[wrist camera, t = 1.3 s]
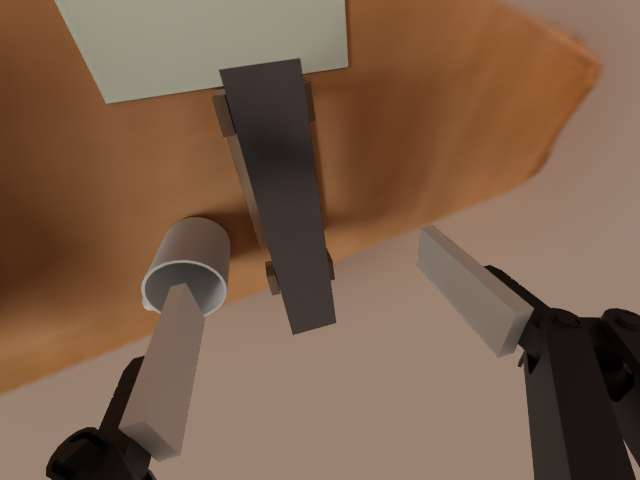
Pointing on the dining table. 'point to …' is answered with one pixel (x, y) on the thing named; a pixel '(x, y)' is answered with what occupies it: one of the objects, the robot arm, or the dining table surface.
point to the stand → (231, 135)
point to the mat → (199, 40)
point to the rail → (284, 183)
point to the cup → (190, 265)
